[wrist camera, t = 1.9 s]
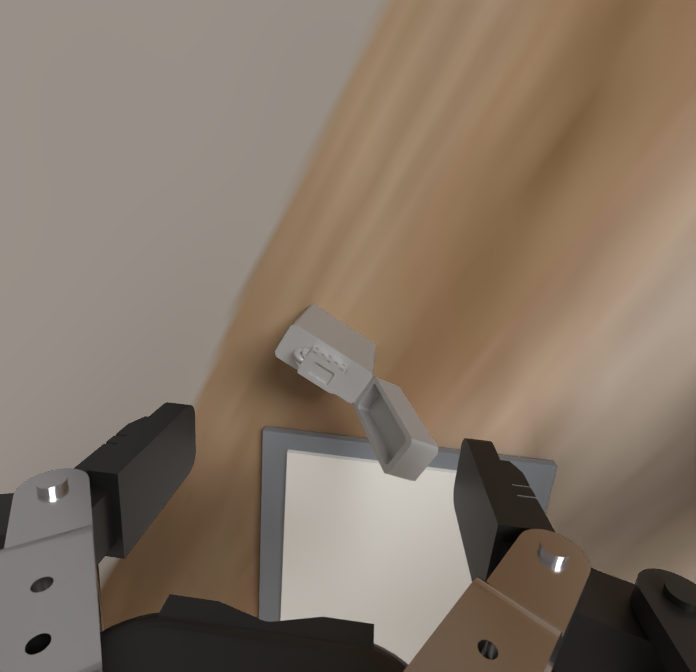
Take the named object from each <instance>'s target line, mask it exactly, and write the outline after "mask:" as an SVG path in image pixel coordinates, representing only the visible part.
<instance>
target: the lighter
mask: <svg viewBox="0 0 696 672" xmlns="http://www.w3.org/2000/svg"><path fill="white" fill-rule="evenodd" d="M275 354H276V357H277V358H279V359H280V360H282V361H284V362H285V363H287V364H288V365H290V366H292V367H293V368H295V369H296V370H298V372H297V373H298V374H300V375H301V376H303V377H305V378H306V379H308V380H309V381H311V382H313V383H314V384H316V385H317V386H319V387H321V388H322V389H324V390H325V391H327V392H328V393H330V394H333V393H334V394H336V395H337V396H339V397H341V398H342V399H344V400H345V401H347V402H349V403H354V402H355V404H354V409H355V411H356V413H357V416H358V418H359V420H360V422H361V424H362V426H363V429H364V431H365V433H366V435H367V437H368V439H369V442H370V444H371V446H372V448H373V450H374V452H375V455H376V457H377V459H378V461H379V463H380V465H381V468H382V470H383V472H384V473H385V474H389V475H392V476H396V477H399V478H403V479H407V480H410V481H416V480H417V478H418V477H419V476H420V475H421V474H422V472H423V471H424V470H425V469H426V468H427V466H428V465H429V464H430V463H431V461H432V460H433V459H434V458H435V457H436V455H437V454H438V446H437V444H436V443H435V441H434V440H433V438H432V437H431V435H430V434H429V432H428V431H427V429H426V428H425V426H424V424H423V423H422V421H421V420H420V418H419V417H418V415H417V414H416V412H415V411H414V409H413V407H412V406H411V404H410V403H409V401H408V400H407V398H406V397H405V395H404V394H403V392H402V391H401V389H400V387H399V386H396V385H394V384H392V383H389V382H387V381H384V380H382V379H380V378H377V377H373V371H374V362H375V354H376V345H375V343H374V342H372V341H370V340H369V339H367V338H366V337H364V336H363V335H361V334H360V333H358V332H357V331H355V330H353V329H352V328H350V327H349V326H347V325H346V324H344V323H343V322H341V321H339V320H338V319H336V318H335V317H333V316H332V315H330V314H329V313H327V312H326V311H324V310H322V309H321V308H319V307H318V306H316V305H315V304H313V305H309V306H308V308H307V309H306V310H305V311H304V312H303V313H302V314H301V315H300V316H299V317H298V318H297V319H296V321H295V322H294V323H293V324H292V325H291V326H290V328H289V329H288V331H287V332H286V334H285V336H284V337H283V339H282V341H281V342H280V344H279V345H278V347H277V349H276V350H275Z"/></svg>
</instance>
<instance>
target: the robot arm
mask: <svg viewBox="0 0 696 672" xmlns="http://www.w3.org/2000/svg"><path fill="white" fill-rule="evenodd" d="M195 453H196V445H195V411H194V408H193V406H192V405H185V404H176V403H165V404H163V405H162V406H161V407H160V408H159V409H157V410H156V411H155V412H154V413H153V414H152V415H150V416H149V417H143V418H141V419H138V420H136V421H134V422H132V423H130V424H128V425H126V426H125V427H124V428H123V429H122V430H120V431H119V432H118V433H117V434H116V436H113V437H112V438H111V439H109V440H108V441H107V443H106V444H103V445H102V446H101V447H99V448H98V449H97V450H96V451H95V452H93V453H92V454H91V455H90V456H89V457H87V458H86V459H85V460H84V461H83V462H81V463H80V464H79V465H77V466H76V467H75V468H74V469H57V470H52V471H48V472H45V473H42V474H39V475H37V476H34V477H32V478H30V479H29V480H27V481H25V482H24V483H23V484H21V485H20V486H19V487H18V488H17V489H16V491H15V492H14V493H10V494H0V672H696V584H694V583H693V582H691V581H689V580H688V579H686V578H684V577H682V576H679V575H677V574H675V573H672V572H669V571H665V570H661V569H645V570H643V571H641V572H640V573H639V574H638V577H637V580H636V583H635V584H632V583H629V582H627V581H624V580H621V579H618V578H616V577H613V576H610V575H607V574H605V573H602V572H600V571H597V570H595V569H593V568H591V565H590V562H589V560H588V558H587V556H586V555H585V554H584V552H583V551H582V550H581V549H580V548H579V547H578V546H577V545H576V544H574V543H573V542H572V541H570V540H569V539H567V538H565V537H563V536H561V535H559V534H557V533H555V531H554V529H553V528H552V526H551V524H550V522H549V520H548V518H547V516H546V515H545V513H544V511H543V509H542V507H541V505H540V503H539V502H538V500H537V499H536V496H535V494H534V492H533V490H532V489H531V488H530V485H529V483H528V481H527V479H526V477H525V476H524V474H523V472H521V471H520V470H519V469H518V468H517V467H516V466H515V465H514V464H512V463H511V462H510V461H505V460H500V458H499V456H498V454H497V452H496V450H495V448H494V445H493V443H492V442H491V441H484V440H475V439H467V438H465V439H464V440H463V442H462V445H461V451H460V456H459V461H458V467H457V472H456V478H455V483H454V492H453V501H454V509H455V513H456V517H457V521H458V525H459V530H460V534H461V538H462V542H463V546H464V550H465V555H466V559H467V563H468V567H469V571H470V575H471V580H472V583H471V584H470V585H469V587H468V588H467V589H466V591H465V592H464V593H463V595H462V596H461V597H460V598H459V600H458V601H457V602H456V604H455V605H454V606H453V608H452V609H451V610H450V611H449V613H448V614H447V615H446V617H445V618H444V619H443V621H442V622H441V623H440V624H439V626H438V627H437V628H436V630H435V631H434V632H433V634H432V635H431V636H430V637H429V639H428V640H427V641H426V643H425V644H424V645H423V647H422V648H421V649H420V650H419V652H418V653H417V654H416V656H415V657H414V658H413V660H412V661H411V662H410V663H409V665H408V664H407V663H406V662H405V661H403V660H402V659H401V658H399V657H398V656H397V655H395V654H394V653H392V652H390V651H389V650H387V649H385V648H383V647H381V646H379V645H377V644H375V643H374V624H371V623H364V622H357V621H350V620H343V619H336V618H329V617H314V618H304V619H294V620H284V621H274V622H268V621H263V620H260V619H258V618H256V617H254V616H251V615H249V614H247V613H244V612H242V611H240V610H237V609H235V608H233V607H230V606H228V605H226V604H224V603H221V602H219V601H212V600H205V599H198V598H191V597H184V596H177V595H169V597H168V598H167V600H166V602H165V604H164V605H163V607H162V609H161V611H160V613H152V614H148V615H143V616H139V617H135V618H132V619H129V620H126V621H124V622H121V623H119V624H116V625H114V626H112V627H110V628H108V629H106V630H104V627H103V615H102V603H101V590H100V578H99V568H98V564H99V562H100V561H101V560H102V559H103V558H104V557H105V556H109V557H117V558H124V559H125V557H126V556H127V555H128V554H129V552H130V551H131V550H132V548H133V547H134V546H135V544H136V543H137V542H138V540H139V539H140V538H141V536H142V535H143V534H144V532H145V531H146V530H147V528H148V527H149V526H150V524H151V523H152V522H153V520H154V519H155V518H156V516H157V515H158V514H159V513H160V511H161V510H162V509H163V507H164V506H165V505H166V503H167V502H168V501H169V499H170V498H171V497H172V495H173V494H174V493H175V491H176V490H177V489H178V487H179V486H180V485H181V483H182V482H183V481H184V479H185V478H186V477H187V475H188V474H189V473H190V471H191V469H192V467H193V464H194V460H195Z"/></svg>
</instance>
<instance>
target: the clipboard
mask: <svg viewBox="0 0 696 672" xmlns="http://www.w3.org/2000/svg"><path fill="white" fill-rule="evenodd" d="M460 451H461V450H459V449H450V448H442V447H438V454H437V455H436V457H435V458H434V459H433V460H432V461H431V463H430V464H429V465H428V466H427V468H426V469H425V470H424V471H423V472H422V474H421V475H420V476H419V477H418V478H417V480H416V481H410V480H407V479H403V478H399V477H396V476H392V475H389V474H385V473H384V472H383V470H382V468H381V465H380V463H379V461H378V459H377V457H376V455H375V452H374V450H373V448H372V446H371V444H370V442H369V439H368V438H359V437H351V436H343V435H334V434H326V433H318V432H310V431H301V430H293V429H285V428H276V427H268V426H265V428H264V429H263V445H262V492H261V540H260V587H259V619H260V620H263V621H268V622H274V621H284V620H294V619H304V618H314V617H329V618H336V619H343V620H350V621H357V622H364V623H371V624H374V643H375V644H377V645H379V646H381V647H383V648H385V649H387V650H389V651H390V652H392V653H394V654H395V655H397V656H398V657H399V658H401V659H402V660H403V661H405V662H406V663H407V664H408V665H409V663H410V662H411V661H412V660H413V658H414V657H415V656H416V654H417V653H418V652H419V650H420V649H421V648H422V647H423V645H424V644H425V643H426V641H427V640H428V639H429V637H430V636H431V635H432V634H433V632H434V631H435V630H436V628H437V627H438V626H439V624H440V623H441V622H442V621H443V619H444V618H445V617H446V615H447V614H448V613H449V611H450V610H451V609H452V608H453V606H454V605H455V604H456V602H457V601H458V600H459V598H460V597H461V596H462V595H463V593H464V592H465V591H466V589H467V588H468V587H469V585H470V584H471V583H472V580H471V575H470V571H469V567H468V563H467V559H466V555H465V550H464V546H463V542H462V538H461V534H460V530H459V525H458V521H457V517H456V513H455V509H454V501H453V492H454V483H455V478H456V472H457V467H458V461H459V456H460ZM498 456H499V458H500V460H505V461H510V462H511V463H512V464H514V465H515V466H516V467H517V468H518V469H519V470H520V471H521V472H523V474H524V476H525V477H526V479H527V481H528V483H529V485H530V488H531V489H532V490H533V492H534V494H535V496H536V499H537V500H538V502H539V503H540V505H541V507H542V509H543V511H544V513H546V509H547V505H548V501H549V497H550V493H551V489H552V485H553V481H554V477H555V473H556V469H557V465H556V464H555V462H554V461H550V460H542V459H533V458H525V457H517V456H508V455H500V454H498Z"/></svg>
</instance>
